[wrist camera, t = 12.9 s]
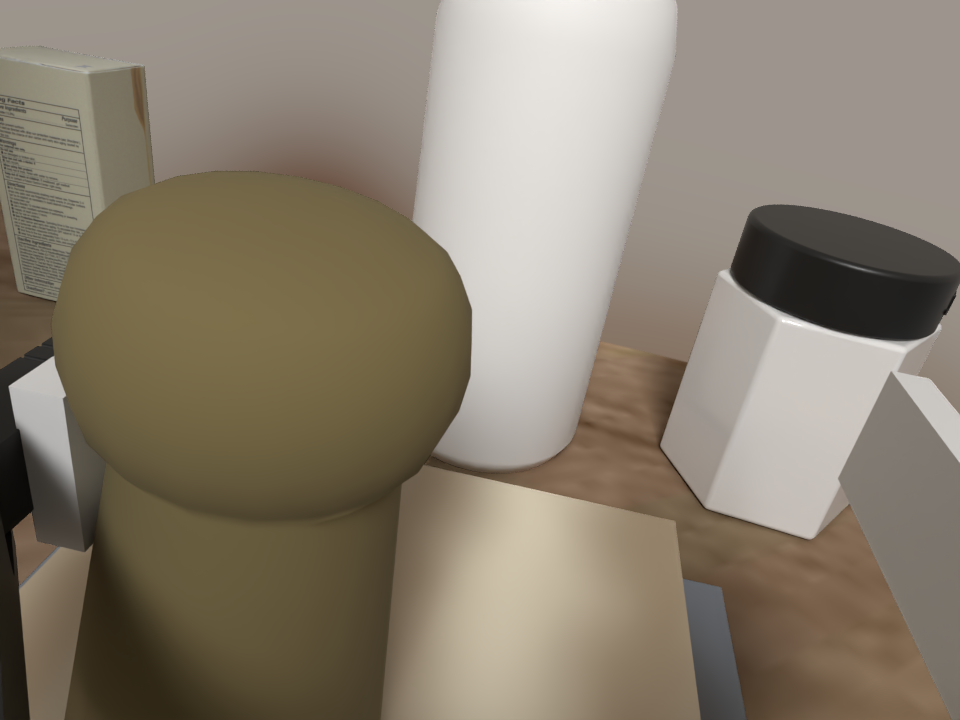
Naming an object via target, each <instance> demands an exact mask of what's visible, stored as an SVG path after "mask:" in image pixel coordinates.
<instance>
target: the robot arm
mask: <svg viewBox="0 0 960 720" xmlns="http://www.w3.org/2000/svg"><path fill="white" fill-rule="evenodd" d="M105 467H106V461H105V460H104V459H102V458H101V457H100V456H99V455H98V454H97V453H96V452H95V451H94V450H93V449H92V448H91V447H90V446H89V445H88V444H87V443H86V441H85V439H84V437H83V434H82V432H81V430H80V428H79V425H78V423H77V421H76V419H75V417H74V414H73V412H72V410H71V408H70V405H69V402H68V400H67V397H66V394H65V391H64V389H63V386H62V383H61V380H60V378H59V375H58V372H57V369H56V367H55V360H54V349H53V339H52V337H51V338H50V339H48V340H47V341H45V342H43V343H42V346H37V347H35V348H34V349H32V350H31V351H29V352H28V353H26V354H24V358H21V357H20V358H18V359H17V360H15V361H13V362H12V363H10V364H9V365H7V366H5V367H4V368H2V369H1V370H0V720H30V712H29V700H28V688H27V676H26V664H25V652H24V641H23V629H22V617H21V605H20V593H19V581H18V569H17V558H16V546H15V541H14V536H13V531H12V529H13V528H14V527H15V526H16V525H17V524H18V523H19V522H20V521H21V520H23V519H24V518H25V517H26V516H27V515H28V514H29V513H30V512H31V511H32V516H33V521H34V527H35V532H36V538H37V541H38V542H43V543H47V544H51V545H55V546H59V547H64V548H68V549H72V550H76V551H80V552H86V551H87V550H88V549H89V548H90V547H91V545H92V544H93V542H94V536H95V529H96V523H97V517H98V511H99V504H100V498H101V492H102V485H103V479H104V473H105ZM838 480H839V482H840V484H841V486H842V488H843V491H844V493H845V495H846V497H847V499H848V501H849V503H850V505H851V507H852V510H853V512H854V514H855V516H856V518H857V520H858V522H859V524H860V526H861V529H862V531H863V533H864V535H865V537H866V539H867V541H868V543H869V546H870V548H871V550H872V552H873V554H874V556H875V558H876V560H877V562H878V565H879V567H880V569H881V571H882V573H883V575H884V577H885V579H886V581H887V584H888V586H889V588H890V590H891V592H892V594H893V596H894V598H895V601H896V603H897V605H898V607H899V609H900V611H901V613H902V615H903V617H904V620H905V622H906V624H907V626H908V628H909V630H910V632H911V634H912V636H913V639H914V641H915V643H916V645H917V647H918V649H919V651H920V653H921V656H922V658H923V660H924V662H925V664H926V666H927V668H928V670H929V672H930V675H931V677H932V679H933V681H934V683H935V685H936V687H937V689H938V692H939V694H940V696H941V698H942V700H943V702H944V704H945V706H946V708H947V711H948V713H949V715H950V717H951V719H952V720H960V415H959V414H958V412H957V411H956V410H955V409H954V408H953V406H952V405H951V404H950V403H949V401H948V400H947V399H946V398H945V397H944V395H943V394H942V393H941V392H940V391H939V389H938V388H937V387H936V386H935V385H934V383H933V382H932V381H931V380H930V379H928V378H924V377H919V376H914V375H909V374H905V373H900V372H895V371H891V372H890V374H889V376H888V378H887V380H886V382H885V384H884V386H883V388H882V390H881V392H880V394H879V396H878V398H877V400H876V402H875V404H874V406H873V408H872V410H871V412H870V414H869V416H868V418H867V420H866V423H865V425H864V427H863V429H862V431H861V433H860V435H859V437H858V439H857V441H856V443H855V445H854V447H853V449H852V451H851V453H850V455H849V457H848V459H847V461H846V463H845V465H844V467H843V469H842V471H841V473H840V475H839V477H838Z"/></svg>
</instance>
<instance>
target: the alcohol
mask: <svg viewBox="0 0 960 720" xmlns="http://www.w3.org/2000/svg"><path fill="white" fill-rule="evenodd" d="M677 11H678V7H677V4H676V0H441V2H440V5H439V8H438V11H437V13H436V23H435V31H434V40H433V48H432V57H431V66H430V74H429V83H428V91H427V100H426V110H425V117H424V126H423V135H422V144H421V152H420V161H419V170H418V178H417V187H416V196H415V204H414V213H413V221H412V222H414V223H415V224H416V225H417V226H418V227H420V228H421V229H422V230H423V231H424V232H426V233H427V234H428V235H429V236H430V237H431V238H432V239H433V240H435V241H436V242H437V243H438V244H439V245H440V246H441V247H442V248H444V249H445V250H446V251H447V252H448V254H449V256H450V258H451V260H452V261H453V263H454V265H455V267H456V269H457V270H458V272H459V274H460V276H461V279H462V282H463V284H464V287H465V290H466V293H467V296H468V299H469V302H470V305H471V308H472V349H471V377H470V380H469V383H468V386H467V389H466V392H465V395H464V398H463V401H462V404H461V407H460V410H459V412H458V414H457V415H456V417H455V418H454V420H453V421H452V423H451V424H450V426H449V428H448V429H447V431H446V432H445V434H444V435H443V437H442V438H441V440H440V441H439V443H438V444H437V446H436V447H435V449H434V450H433V452H432V453H431V456H433V457H435V458H437V459H439V460H440V461H442V462H445V463H448V464H450V465H453V466H456V467H459V468H463V469H467V470H471V471H476V472H485V473H514V472H521V471H526V470H529V469H532V468H535V467H538V466H540V465H541V464H543V463H545V462H547V461H549V460H550V459H551V458H552V457H554V456H555V455H556V454H558V453H559V452H560V451H561V450H563V449H564V448H565V447H566V446H567V445H568V444H569V443H570V442H571V440H572V438H573V436H574V434H575V432H576V428H577V424H578V421H579V417H580V413H581V409H582V406H583V402H584V398H585V394H586V391H587V387H588V383H589V379H590V376H591V372H592V368H593V364H594V361H595V357H596V353H597V349H598V346H599V342H600V338H601V334H602V331H603V327H604V323H605V319H606V316H607V312H608V308H609V304H610V300H611V296H612V293H613V289H614V285H615V282H616V278H617V274H618V270H619V267H620V263H621V259H622V256H623V252H624V248H625V244H626V240H627V236H628V232H629V229H630V226H631V222H632V218H633V214H634V210H635V207H636V203H637V199H638V195H639V191H640V188H641V184H642V180H643V177H644V173H645V169H646V165H647V161H648V158H649V154H650V150H651V147H652V143H653V139H654V135H655V132H656V128H657V124H658V120H659V117H660V113H661V109H662V105H663V101H664V98H665V94H666V90H667V87H668V83H669V78H670V75H671V72H672V68H673V64H674V60H675V57H676V34H677Z"/></svg>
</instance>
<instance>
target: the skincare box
mask: <svg viewBox="0 0 960 720" xmlns="http://www.w3.org/2000/svg"><path fill="white" fill-rule="evenodd" d="M153 184H155V180H154V169H153V158H152V146H151V135H150V124H149V112H148V102H147V90H146V79H145V67H144V65H141V64H134V63H129V62H124V61H118V60H113V59H107V58H101V57H96V56H90V55H85V54H80V53H74V52H69V51H62V50H58V49H53V48H47V47H43V46H28V47H27V46H26V47H10V48H0V202H1V207H2V213H3V218H4V223H5V228H6V234H7V239H8V244H9V249H10V254H11V260H12V265H13V270H14V275H15V280H16V286H17V290H18V291H19V292H21V293H25V294H29V295H33V296H37V297H41V298H45V299H49V300H53V301H57V298H58V294H59V290H60V286H61V282H62V279H63V276H64V272H65V269H66V265H67V262H68V259H69V255H70V252H71V249H72V247H73V246H74V245H75V244H76V242H77V241H78V240H79V238H80V237H81V236H82V234H83V233H84V232H85V230H86V229H87V228H88V227H89V225H90V224H91V223H92V221H93V220H94V219H95V217H96V216H97V215H99V214H100V213H101V212H102V211H103V210H105V209H106V208H107V207H108V206H110V205H111V204H112V203H113V202H114V201H116V200H117V199H118V198H119V197H120V196H122V195H125V194H128V193H131V192H133V191H136V190H139V189H142V188H145V187H147V186H150V185H153Z"/></svg>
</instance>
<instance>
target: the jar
mask: <svg viewBox="0 0 960 720" xmlns="http://www.w3.org/2000/svg"><path fill="white" fill-rule="evenodd" d="M959 284H960V263H959V262H958V260H957V259H955V258H954V257H953V256H952V255H950V254H949V253H947V252H946V251H944V250H942V249H941V248H939V247H937V246H935V245H933V244H931V243H929V242H927V241H925V240H922V239H920V238H917V237H915V236H913V235H910V234H908V233H905V232H902V231H900V230H897V229H894V228H891V227H888V226H885V225H882V224H879V223H876V222H873V221H869V220H865V219H862V218H858V217H854V216H851V215H846V214H842V213H838V212H833V211H828V210H823V209H817V208H811V207H804V206H795V205H765V206H761V207H758V208H755V209H754V210H752V211H751V212H750V214H749V216H748V218H747V221H746V224H745V227H744V230H743V233H742V236H741V239H740V242H739V244H738V247H737V250H736V253H735V256H734V259H733V262H732V265H731V268H728V269H725V270H721V271H720V272H719V273H718V274H717V277H716V281H715V283H714V287H713V289H712V292H711V295H710V298H709V301H708V304H707V307H706V311H705V313H704V316H703V319H702V322H701V325H700V328H699V331H698V334H697V337H696V340H695V343H694V346H693V349H692V352H691V354H690V358H689V361H688V363H687V366H686V369H685V372H684V375H683V378H682V381H681V384H680V387H679V390H678V393H677V396H676V399H675V402H674V405H673V408H672V411H671V414H670V417H669V420H668V423H667V426H666V429H665V431H664V434H663V437H662V440H661V443H660V447H661V449H662V450H663V452H664V453H665V454H666V456H667V457H668V459H669V460H670V461H671V463H672V464H673V465H674V467H675V468H676V469H677V471H678V472H679V474H680V475H681V476H682V478H683V479H684V480H685V482H686V483H687V484H688V486H689V487H690V489H691V490H692V491H693V493H694V494H695V495H696V497H697V498H698V499H699V501H700V502H701V504H702V505H703V506H704V507H705V508H706V509H708V510H711V511H714V512H718V513H721V514H724V515H728V516H731V517H734V518H738V519H741V520H744V521H748V522H751V523H754V524H758V525H761V526H764V527H768V528H771V529H774V530H778V531H781V532H784V533H787V534H791V535H794V536H797V537H801V538H804V539H808V540H810V539H813V538H815V537H816V536H817V535H818V534H819V533H820V532H821V531H822V530H823V529H824V528H825V527H826V526H827V525H828V524H829V523H830V522H831V521H832V520H833V519H834V518H835V517H836V516H837V515H838V514H839V513H840V512H842V511H843V510H844V509H845V508H846V507H847V506H848V505H849V504H850V503H849V501H848V499H847V497H846V495H845V493H844V491H843V488H842V486H841V484H840V482H839V480H838V477H839V475H840V473H841V471H842V469H843V467H844V465H845V463H846V461H847V459H848V457H849V455H850V453H851V451H852V449H853V447H854V445H855V443H856V441H857V439H858V437H859V435H860V433H861V431H862V429H863V427H864V425H865V423H866V420H867V418H868V416H869V414H870V412H871V410H872V408H873V406H874V404H875V402H876V400H877V398H878V396H879V394H880V392H881V390H882V388H883V386H884V384H885V382H886V380H887V378H888V376H889V374H890V372H891V371H895V372H900V373H905V374H909V375H914V376H917V375H918V373H919V371H920V369H921V367H922V365H923V363H924V361H925V359H926V358H927V356H928V354H929V352H930V350H931V348H932V346H933V344H934V342H935V340H936V338H937V336H938V335H939V333H940V331H941V325H940V324H939V323H940V321H941V319H942V317H943V315H946V314H947V313H948V311H949V308H950V306H951V305H952V303H953V301H954V299H955V297H956V290H957V288H958V286H959Z"/></svg>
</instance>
